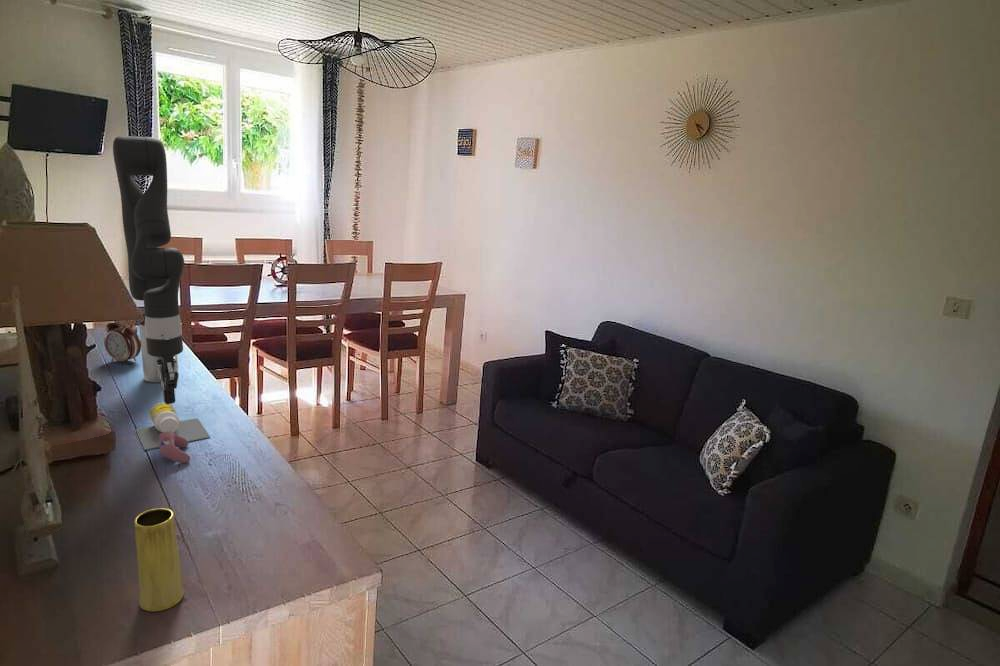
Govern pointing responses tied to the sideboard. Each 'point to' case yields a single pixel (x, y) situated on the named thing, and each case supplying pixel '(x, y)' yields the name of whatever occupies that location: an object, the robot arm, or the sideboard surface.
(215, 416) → the sideboard surface
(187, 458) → the video game controller
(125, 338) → the alarm clock
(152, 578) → the vase
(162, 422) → the supplement bottle
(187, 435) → the mat
